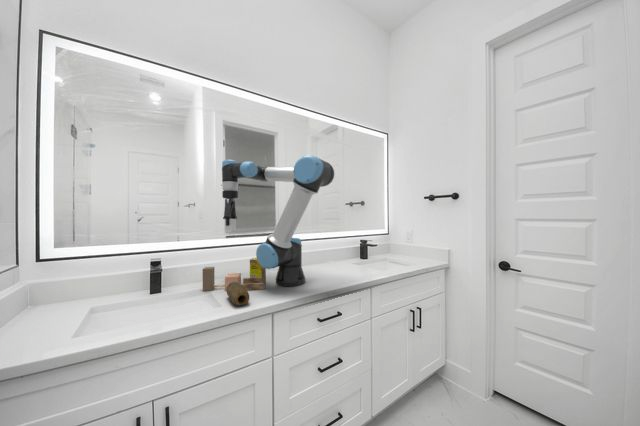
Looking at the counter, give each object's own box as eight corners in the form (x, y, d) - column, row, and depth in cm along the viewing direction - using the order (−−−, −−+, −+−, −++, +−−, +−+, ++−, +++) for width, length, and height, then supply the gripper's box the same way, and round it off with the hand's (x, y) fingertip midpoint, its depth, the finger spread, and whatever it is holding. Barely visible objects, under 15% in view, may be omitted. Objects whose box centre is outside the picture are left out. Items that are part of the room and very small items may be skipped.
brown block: (240, 285, 118) (240, 264, 118) (238, 289, 111) (238, 268, 111) (206, 287, 115) (206, 266, 115) (201, 291, 108) (201, 269, 108)
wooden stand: (265, 282, 122) (265, 263, 122) (264, 289, 111) (264, 268, 111) (243, 284, 120) (243, 264, 120) (239, 291, 109) (239, 269, 109)
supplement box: (260, 279, 128) (260, 259, 128) (249, 279, 128) (249, 259, 128) (263, 276, 134) (263, 257, 134) (252, 276, 134) (252, 257, 134)
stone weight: (223, 298, 100) (223, 282, 100) (239, 294, 104) (239, 279, 104) (234, 309, 88) (234, 291, 88) (252, 304, 92) (252, 287, 92)
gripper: (227, 192, 135) (227, 230, 135) (216, 187, 110) (217, 233, 110) (241, 192, 136) (241, 229, 136) (233, 187, 112) (234, 232, 111)
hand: (230, 231), depth 123 cm, fingers open, 13 cm apart
